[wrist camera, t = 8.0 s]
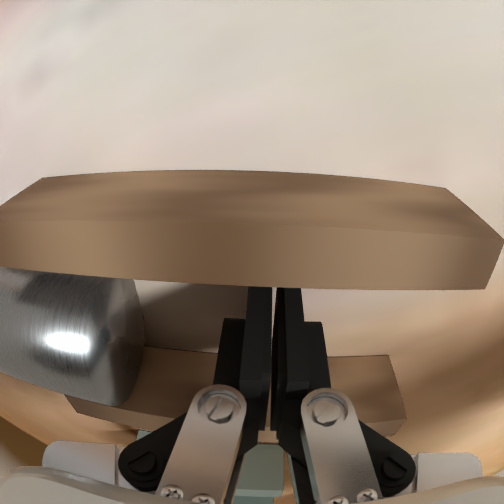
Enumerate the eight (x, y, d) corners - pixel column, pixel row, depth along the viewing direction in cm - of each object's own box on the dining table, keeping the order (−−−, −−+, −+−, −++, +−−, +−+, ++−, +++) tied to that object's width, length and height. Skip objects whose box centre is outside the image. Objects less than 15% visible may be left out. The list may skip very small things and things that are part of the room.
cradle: (283, 444, 18) (283, 490, 15) (272, 483, 24) (271, 515, 21) (139, 429, 19) (127, 471, 16) (167, 473, 24) (161, 504, 21)
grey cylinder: (120, 243, 10) (68, 369, 7) (151, 321, 14) (128, 422, 10) (-62, 239, 11) (-103, 304, 7) (-24, 295, 14) (-54, 356, 11)
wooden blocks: (445, 188, 9) (505, 240, 6) (379, 374, 14) (394, 434, 11) (42, 178, 9) (-21, 221, 6) (100, 358, 14) (76, 412, 11)
